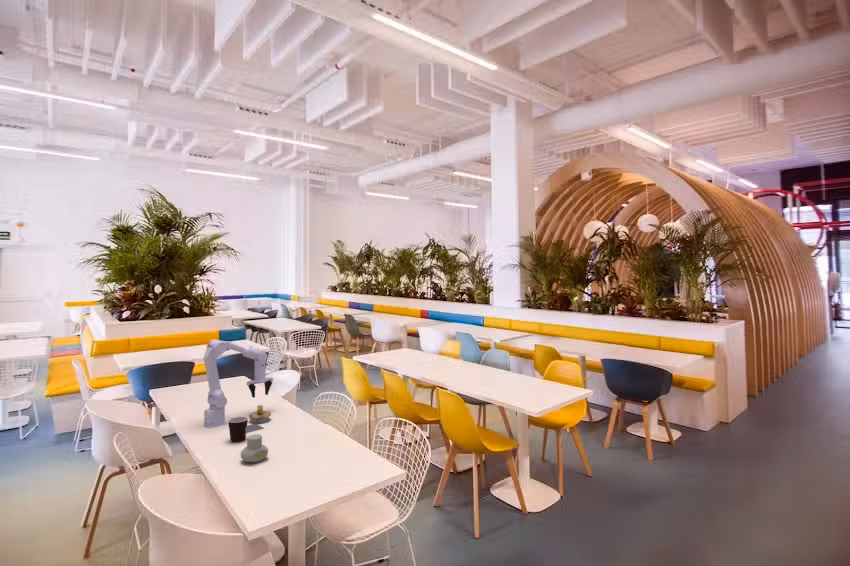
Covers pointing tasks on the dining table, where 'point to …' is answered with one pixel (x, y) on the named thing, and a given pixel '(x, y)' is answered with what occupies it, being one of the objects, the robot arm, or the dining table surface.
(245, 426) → the coffee mug
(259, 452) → the air freshener
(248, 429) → the mat
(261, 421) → the bowl
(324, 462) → the dining table surface
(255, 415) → the lid
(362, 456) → the dining table surface
